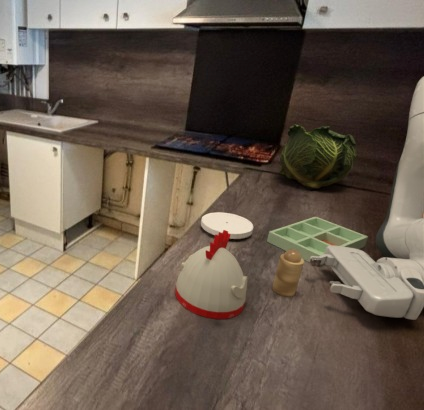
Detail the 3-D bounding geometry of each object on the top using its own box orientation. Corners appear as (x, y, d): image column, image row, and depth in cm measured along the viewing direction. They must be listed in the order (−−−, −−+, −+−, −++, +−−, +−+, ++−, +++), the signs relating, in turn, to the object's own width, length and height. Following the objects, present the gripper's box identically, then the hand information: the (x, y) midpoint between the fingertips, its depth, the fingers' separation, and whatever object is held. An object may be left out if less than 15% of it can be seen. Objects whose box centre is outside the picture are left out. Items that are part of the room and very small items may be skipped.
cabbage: (322, 194, 147) (348, 140, 142) (350, 203, 124) (382, 139, 118) (260, 174, 151) (283, 121, 146) (276, 179, 128) (305, 116, 123)
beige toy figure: (299, 292, 77) (311, 252, 73) (286, 299, 75) (297, 258, 71) (280, 282, 80) (291, 243, 76) (267, 287, 79) (277, 248, 75)
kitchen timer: (255, 297, 75) (270, 234, 69) (224, 329, 67) (238, 261, 61) (196, 270, 85) (205, 212, 79) (162, 295, 76) (169, 233, 70)
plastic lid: (223, 216, 112) (224, 208, 111) (262, 234, 101) (264, 226, 100) (190, 226, 106) (191, 218, 105) (228, 246, 95) (229, 238, 94)
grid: (364, 246, 95) (368, 236, 94) (317, 266, 86) (321, 255, 85) (312, 225, 106) (315, 216, 105) (266, 241, 97) (269, 231, 96)
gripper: (370, 241, 81) (304, 236, 83) (435, 298, 62) (348, 289, 65) (361, 265, 83) (297, 259, 86) (421, 326, 65) (338, 317, 67)
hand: (319, 273), depth 75 cm, fingers open, 8 cm apart
